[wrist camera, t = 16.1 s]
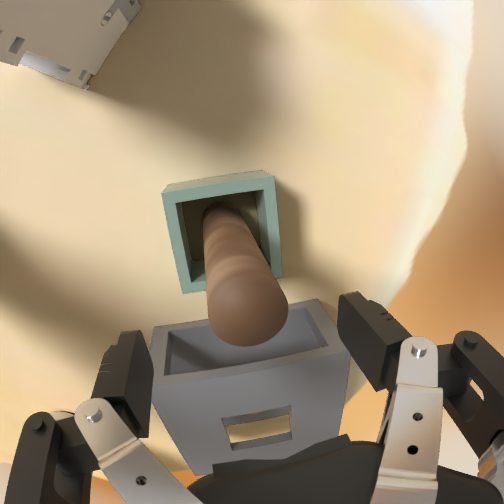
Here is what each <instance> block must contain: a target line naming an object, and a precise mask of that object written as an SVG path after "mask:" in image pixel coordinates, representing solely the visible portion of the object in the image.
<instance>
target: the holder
mask: <svg viewBox="0 0 504 504" xmlns="http://www.w3.org/2000/svg"><path fill="white" fill-rule="evenodd" d="M254 190H255V196H256V205H257V214H258V223H259V232H260V241H261V252H262V254H263V256H264V258H265V260H266V261H267V263H268V265H269V267H270V269H271V271H272V273H273V274H274V276H275V278H281V277H283V273H282V260H281V248H280V236H279V224H278V213H277V202H276V191H275V181H274V176H273V175H271V174H269V173H267V172H265V171H263V170H260V171H252V172H244V173H237V174H230V175H223V176H216V177H210V178H203V179H197V180H191V181H185V182H180V183H174V184H169V185H167V187H166V188H165V189H164V191H163V192H162V193H161V194H162V199H163V205H164V210H165V215H166V220H167V225H168V230H169V235H170V240H171V245H172V249H173V254H174V258H175V263H176V267H177V272H178V276H179V280H180V284H181V288H182V292H183V294H187V293H193V292H199V291H205V290H206V276H205V260H199V261H193V262H192V258H191V253H190V248H189V243H188V238H187V232H186V227H185V222H184V216H183V211H182V205H181V202H184V201H189V200H195V199H201V198H208V197H214V196H220V195H227V194H233V193H240V192H247V191H254Z"/></svg>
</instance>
